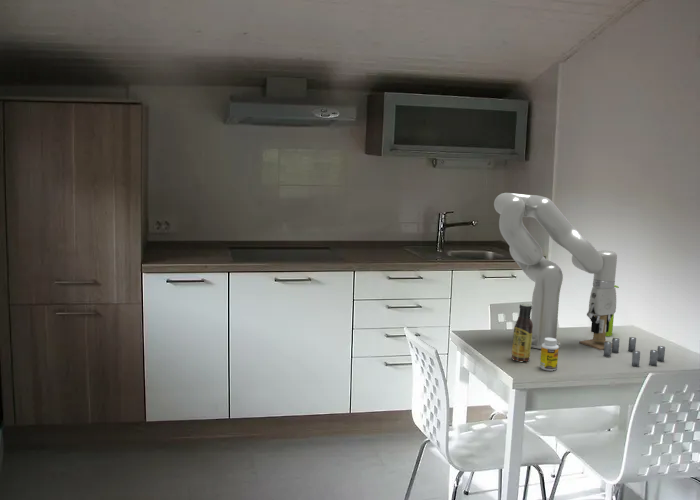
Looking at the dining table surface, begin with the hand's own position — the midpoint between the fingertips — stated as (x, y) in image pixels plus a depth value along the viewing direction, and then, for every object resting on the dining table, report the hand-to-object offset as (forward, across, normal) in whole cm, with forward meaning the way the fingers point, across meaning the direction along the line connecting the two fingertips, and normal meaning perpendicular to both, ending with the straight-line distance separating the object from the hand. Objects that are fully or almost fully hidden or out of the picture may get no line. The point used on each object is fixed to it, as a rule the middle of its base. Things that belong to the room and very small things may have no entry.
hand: (599, 331), depth 262 cm
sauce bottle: (+6, -40, -1) cm, 40 cm away
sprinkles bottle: (+4, 0, 0) cm, 4 cm away
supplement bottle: (+6, -38, -12) cm, 40 cm away
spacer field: (+5, -2, -17) cm, 18 cm away
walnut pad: (+5, 0, 0) cm, 5 cm away
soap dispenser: (+5, +14, +9) cm, 18 cm away
